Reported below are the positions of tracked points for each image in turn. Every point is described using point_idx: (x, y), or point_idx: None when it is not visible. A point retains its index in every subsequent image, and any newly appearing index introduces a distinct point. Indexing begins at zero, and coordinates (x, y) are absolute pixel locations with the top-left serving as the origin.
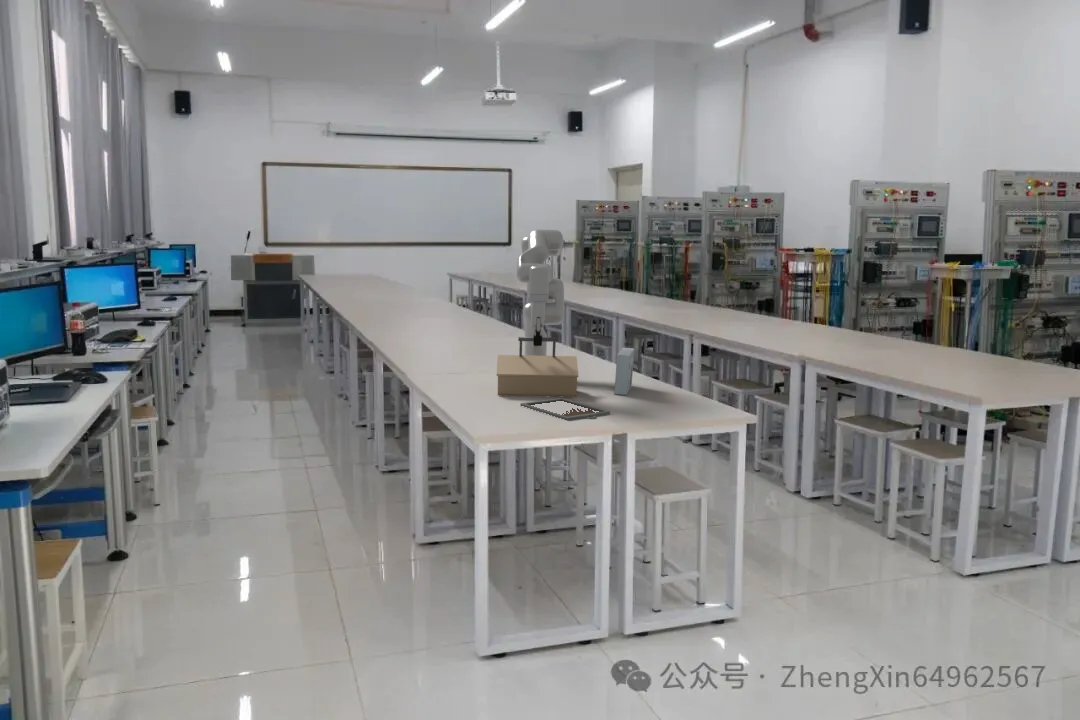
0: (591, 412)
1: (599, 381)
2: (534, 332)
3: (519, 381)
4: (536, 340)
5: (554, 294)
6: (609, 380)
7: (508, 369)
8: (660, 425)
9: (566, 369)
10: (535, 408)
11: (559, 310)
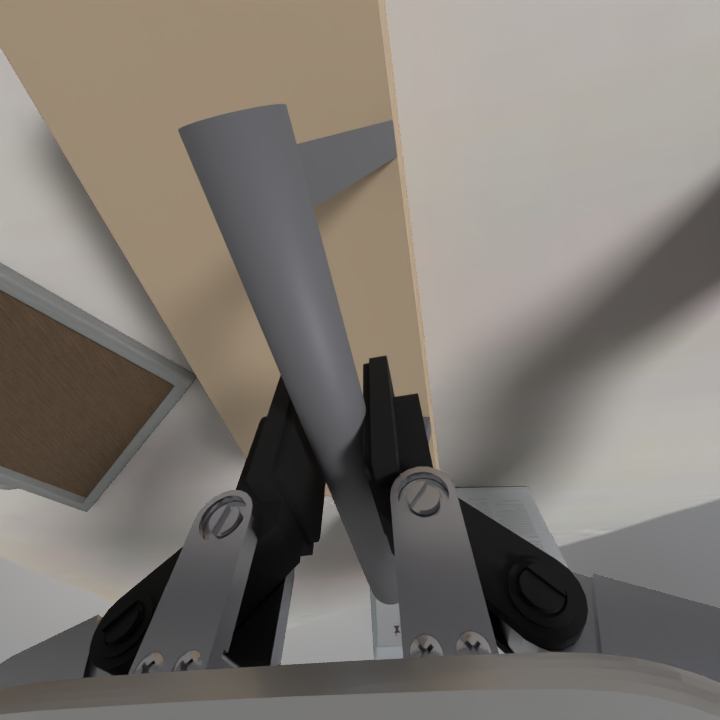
0: (71, 471)
1: (599, 434)
2: (219, 550)
3: None
4: (254, 452)
5: None
6: (615, 456)
7: (80, 61)
8: (61, 575)
9: None
10: None
11: None
